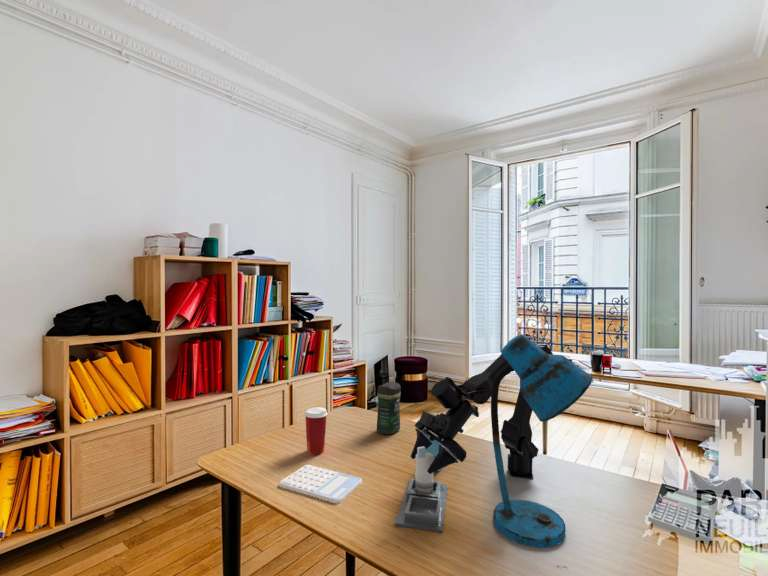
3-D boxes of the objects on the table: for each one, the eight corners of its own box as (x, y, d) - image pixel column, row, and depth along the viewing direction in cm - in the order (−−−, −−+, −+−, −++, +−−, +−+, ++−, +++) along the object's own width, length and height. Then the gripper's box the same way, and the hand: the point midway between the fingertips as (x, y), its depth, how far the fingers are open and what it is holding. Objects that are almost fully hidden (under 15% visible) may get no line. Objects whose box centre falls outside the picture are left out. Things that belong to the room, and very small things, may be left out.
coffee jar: (391, 436, 146) (392, 387, 146) (373, 432, 150) (374, 384, 150) (403, 428, 155) (404, 381, 155) (385, 425, 159) (386, 379, 159)
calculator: (306, 468, 121) (306, 462, 121) (363, 483, 112) (363, 477, 112) (277, 488, 109) (277, 481, 109) (338, 506, 100) (338, 499, 100)
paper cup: (331, 450, 134) (332, 409, 134) (316, 458, 127) (316, 415, 127) (314, 445, 138) (315, 405, 138) (298, 452, 131) (299, 411, 131)
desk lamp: (596, 561, 81) (599, 342, 81) (486, 536, 88) (488, 336, 88) (585, 518, 96) (587, 334, 96) (492, 500, 103) (494, 329, 103)
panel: (447, 487, 110) (447, 479, 110) (442, 532, 90) (442, 522, 90) (409, 482, 112) (409, 474, 112) (395, 525, 92) (395, 516, 92)
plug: (427, 486, 109) (428, 442, 109) (437, 495, 104) (437, 449, 104) (411, 490, 107) (412, 444, 107) (420, 499, 102) (421, 452, 102)
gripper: (420, 391, 116) (386, 434, 111) (457, 410, 98) (418, 461, 94) (443, 415, 119) (410, 457, 114) (482, 437, 102) (445, 488, 97)
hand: (419, 465), depth 105 cm, fingers open, 9 cm apart
